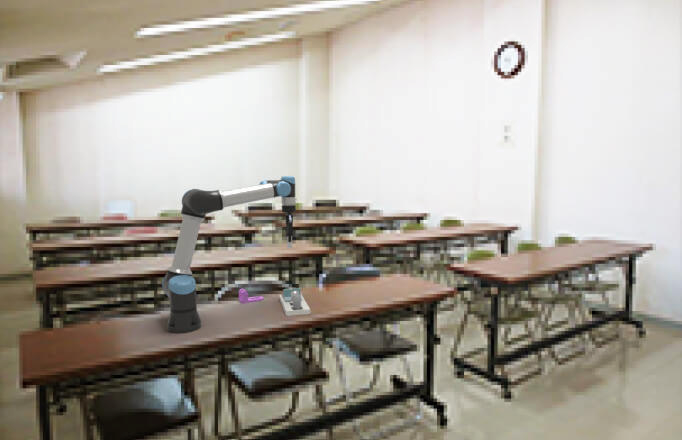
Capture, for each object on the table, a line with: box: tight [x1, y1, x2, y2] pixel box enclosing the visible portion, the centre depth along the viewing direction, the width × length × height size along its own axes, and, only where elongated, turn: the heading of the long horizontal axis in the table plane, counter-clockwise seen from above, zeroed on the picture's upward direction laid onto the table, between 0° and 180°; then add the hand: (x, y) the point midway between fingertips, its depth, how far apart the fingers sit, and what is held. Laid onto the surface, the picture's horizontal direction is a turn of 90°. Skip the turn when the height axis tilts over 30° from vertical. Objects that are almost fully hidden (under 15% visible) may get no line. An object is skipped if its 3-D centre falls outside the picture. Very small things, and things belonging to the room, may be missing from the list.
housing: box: [278, 294, 311, 317], centre depth 249 cm, size 12×30×9 cm, turn 14°
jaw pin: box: [291, 291, 299, 306], centre depth 245 cm, size 4×4×9 cm
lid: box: [282, 287, 302, 302], centre depth 252 cm, size 9×7×5 cm
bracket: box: [238, 288, 264, 305], centre depth 259 cm, size 13×6×7 cm, turn 116°
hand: (289, 247), depth 257 cm, fingers closed
